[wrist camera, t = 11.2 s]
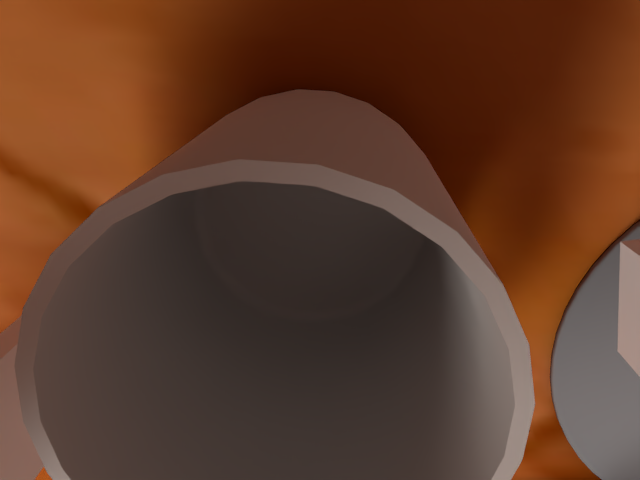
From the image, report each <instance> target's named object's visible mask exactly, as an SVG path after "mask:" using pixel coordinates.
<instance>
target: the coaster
mask: <svg viewBox="0 0 640 480" xmlns="http://www.w3.org/2000/svg"><path fill="white" fill-rule="evenodd" d="M637 239H640V221H639V222H637V223H636V224H634V225H633V226H632V227H631V228H630V229H629V230H627V231H626V232H625V233H624V234H623V235H622V236H621V237H620V238H618V239H617V240H616V241H615V242H614V243H613V244H612V245H611V246H610V247H609V248H608V249H607V250H606V251H605V252H604V253H603V255H602V256H601V257H600V258H599V259H598V260H597V261H596V262H595V263H594V265H593V266H592V267H591V268H590V270H589V271H588V273H587V274H586V276H585V277H584V278H583V280H582V281H581V283H580V284H579V285H578V287H577V288H576V290H575V292H574V294H573V296H572V298H571V300H570V301H569V303H568V305H567V307H566V309H565V311H564V314H563V316H562V319H561V322H560V324H559V327H558V330H557V332H556V336H555V341H554V345H553V350H552V354H551V368H550V383H551V394H552V400H553V404H554V408H555V411H556V415H557V418H558V420H559V423H560V425H561V427H562V429H563V432H564V434H565V436H566V438H567V440H568V441H569V443H570V444H571V446H572V447H573V449H574V450H575V452H576V453H577V455H578V456H579V458H580V459H581V460H582V461H583V462H584V463H585V464H586V466H587V467H588V468H589V469H590V470H591V471H592V472H593V473H594V474H595V475H597V476H598V477H599V478H600V479H602V480H640V377H639V376H638V374H637V373H636V372H635V371H634V370H633V369H632V367H631V366H630V365H629V364H628V363H627V362H626V360H625V359H624V358H623V357H622V356H621V355H620V353H619V352H618V351H617V350H618V310H619V270H620V241H629V240H637Z"/></svg>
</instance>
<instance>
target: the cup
mask: <svg viewBox="0 0 640 480" xmlns="http://www.w3.org/2000/svg"><path fill="white" fill-rule="evenodd" d="M14 367H15V373H16V380H17V386H18V392H19V399H20V405H21V412H22V418H23V423H24V425H25V427H26V429H27V431H28V433H29V435H30V437H31V440H32V442H33V444H34V446H35V448H36V450H37V452H38V454H39V457H40V459H41V461H42V463H43V465H44V467H45V469H46V471H47V473H48V474H49V476H50V477H51V478H52V479H53V480H511V479H512V477H513V475H514V473H515V472H516V470H517V468H518V466H519V465H520V463H521V461H522V459H523V454H524V450H525V446H526V441H527V437H528V433H529V428H530V424H531V420H532V415H533V411H534V407H535V400H534V389H533V379H532V369H531V359H530V348H529V343H528V341H527V339H526V336H525V334H524V332H523V329H522V327H521V325H520V323H519V320H518V318H517V316H516V313H515V311H514V309H513V306H512V304H511V302H510V299H509V297H508V295H507V292H506V290H505V288H504V285H503V284H502V282H501V280H500V279H499V277H498V275H497V274H496V272H495V270H494V269H493V267H492V265H491V264H490V262H489V260H488V259H487V257H486V255H485V254H484V252H483V250H482V249H481V247H480V245H479V244H478V242H477V240H476V239H475V237H474V235H473V234H472V232H471V230H470V229H469V227H468V225H467V224H466V222H465V220H464V219H463V217H462V215H461V214H460V212H459V210H458V209H457V207H456V205H455V204H454V202H453V200H452V199H451V197H450V195H449V194H448V192H447V190H446V189H445V187H444V185H443V184H442V182H441V180H440V179H439V177H438V175H437V174H436V172H435V170H434V169H433V167H432V165H431V164H430V162H429V160H428V159H427V157H426V155H425V154H424V153H423V152H422V150H421V149H420V148H419V147H418V146H417V144H416V143H415V142H414V141H413V140H412V138H411V137H410V136H409V135H408V134H407V133H406V131H405V130H404V129H403V128H402V127H401V126H400V125H399V124H398V123H397V122H395V121H394V120H392V119H391V118H389V117H388V116H386V115H385V114H384V113H382V112H381V111H379V110H378V109H376V108H375V107H373V106H372V105H370V104H369V103H367V102H364V101H361V100H358V99H355V98H352V97H349V96H346V95H343V94H340V93H337V92H335V91H320V90H304V89H297V90H292V91H287V92H283V93H278V94H273V95H269V96H264V97H261V98H258V99H256V100H254V101H252V102H250V103H248V104H247V105H245V106H243V107H241V108H239V109H237V110H235V111H233V112H231V113H229V114H227V115H226V116H224V117H223V118H222V119H220V120H219V121H217V122H216V123H215V124H213V125H212V126H210V127H209V128H208V129H206V130H205V131H204V132H202V133H201V134H199V135H198V136H197V137H195V138H194V139H192V140H191V141H190V142H188V143H187V144H186V145H184V146H183V147H181V148H180V149H179V150H177V151H176V152H174V153H173V154H172V155H170V156H169V157H168V158H166V159H165V160H163V161H162V162H161V163H159V164H158V165H156V166H155V167H154V168H152V169H151V170H150V171H148V172H147V173H145V174H144V175H143V176H141V177H140V178H138V179H137V180H136V181H134V182H133V183H132V184H130V185H129V186H127V187H126V188H125V189H123V190H122V191H120V192H119V193H118V194H116V195H115V196H114V197H112V198H111V199H109V200H108V201H107V202H105V203H104V204H103V205H101V206H100V207H98V208H97V209H96V210H95V211H94V212H93V213H92V214H91V215H90V216H89V217H88V218H87V219H86V220H85V221H84V222H83V223H82V224H81V225H80V226H79V227H78V228H77V229H76V230H75V231H74V232H73V233H72V234H71V235H70V236H69V237H68V238H67V239H66V240H65V241H64V242H63V243H62V244H61V245H60V246H59V247H58V248H57V249H56V250H55V251H54V252H53V253H52V254H51V255H50V257H49V259H48V261H47V263H46V265H45V267H44V269H43V271H42V273H41V275H40V277H39V279H38V280H37V282H36V284H35V286H34V288H33V290H32V292H31V294H30V296H29V298H28V300H27V302H26V304H25V305H24V307H23V312H22V318H21V325H20V332H19V338H18V345H17V352H16V358H15V365H14Z"/></svg>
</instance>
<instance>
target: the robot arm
mask: <svg viewBox="0 0 640 480" xmlns="http://www.w3.org/2000/svg"><path fill="white" fill-rule="evenodd" d="M21 318H22V316H20V317H19V318H18V319H17V320H16V321H15V322H13V323H12V324H11V325H10V326H9V327H8V328H6V329H5V330H4V331H3V332H2V333H1V334H0V480H34V479H35V478H36V477H37V475H38V474H39V472H40V471H41V470H42V468H43V467H44V465H43V463H42V461H41V459H40V457H39V454H38V452H37V450H36V448H35V446H34V444H33V442H32V440H31V437H30V435H29V433H28V431H27V429H26V427H25V425H24V423H23V418H22V412H21V405H20V399H19V392H18V386H17V380H16V373H15V367H14V365H15V358H16V352H17V345H18V338H19V332H20V325H21ZM617 351H618V352H619V353H620V355H621V356H622V357H623V358H624V359H625V360H626V362H627V363H628V364H629V365H630V366H631V367H632V369H633V370H634V371H635V372H636V373H637V374H638V376H639V377H640V239H637V240H629V241H620V270H619V310H618V350H617Z"/></svg>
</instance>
